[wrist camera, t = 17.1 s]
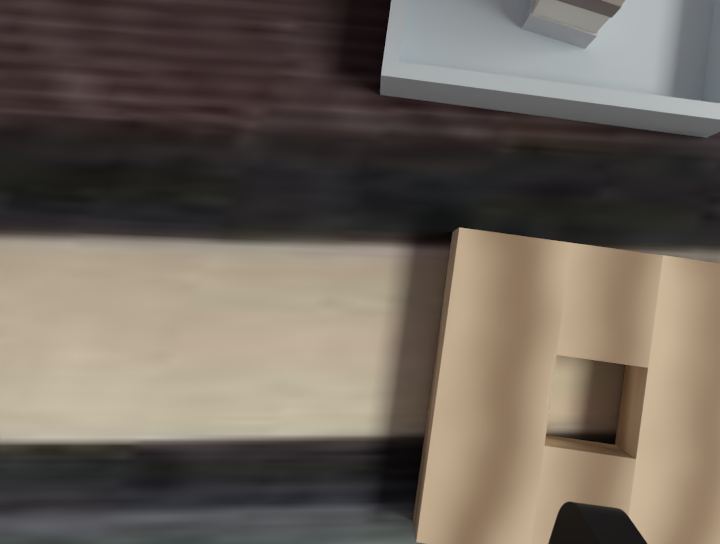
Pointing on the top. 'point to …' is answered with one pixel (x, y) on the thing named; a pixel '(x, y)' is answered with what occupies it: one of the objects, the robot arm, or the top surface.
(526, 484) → the wooden board with hole
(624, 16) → the parts tray
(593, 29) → the block
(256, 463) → the top surface
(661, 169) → the top surface
